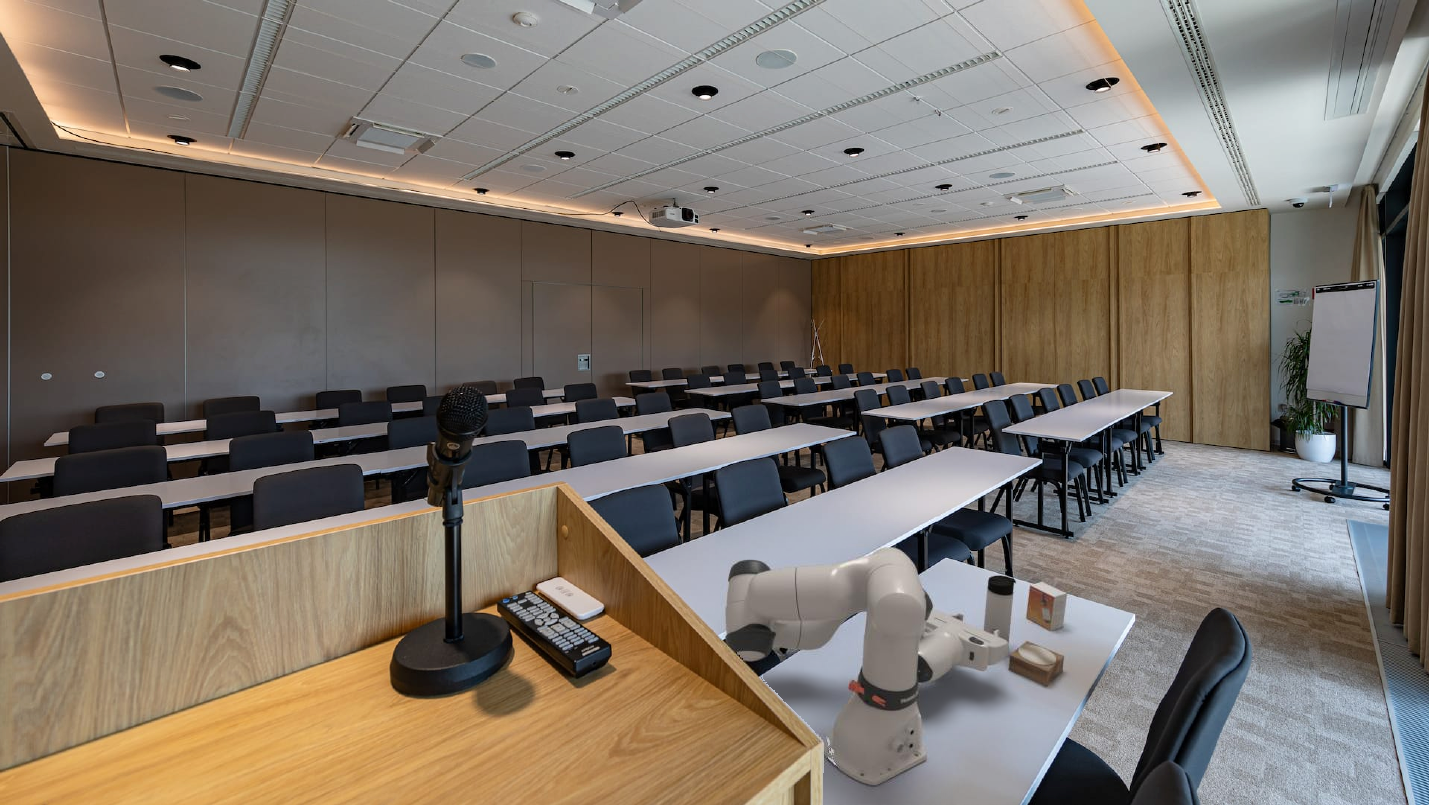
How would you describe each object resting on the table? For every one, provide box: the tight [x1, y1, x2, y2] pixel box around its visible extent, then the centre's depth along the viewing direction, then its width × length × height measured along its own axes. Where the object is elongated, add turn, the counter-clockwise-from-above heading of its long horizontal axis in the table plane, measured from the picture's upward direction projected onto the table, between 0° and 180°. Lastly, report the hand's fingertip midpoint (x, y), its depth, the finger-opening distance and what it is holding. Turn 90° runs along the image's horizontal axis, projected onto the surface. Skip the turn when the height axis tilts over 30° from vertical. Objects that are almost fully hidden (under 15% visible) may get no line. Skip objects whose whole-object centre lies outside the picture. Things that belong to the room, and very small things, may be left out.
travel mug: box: [983, 574, 1017, 645], centre depth 161 cm, size 6×7×20 cm
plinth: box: [1008, 640, 1065, 687], centre depth 153 cm, size 10×9×4 cm
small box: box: [1025, 581, 1068, 632], centre depth 175 cm, size 8×6×10 cm
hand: (978, 624), depth 155 cm, fingers open, 8 cm apart
